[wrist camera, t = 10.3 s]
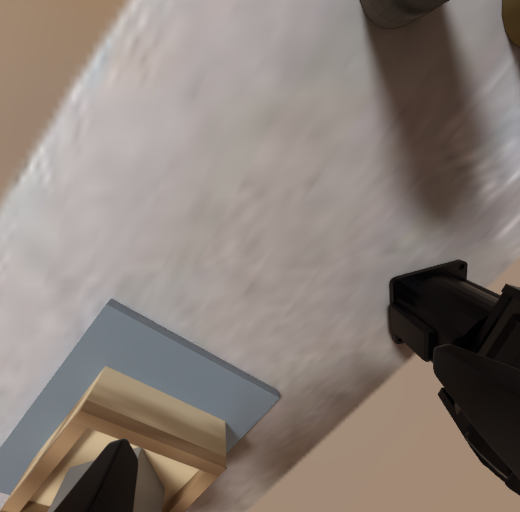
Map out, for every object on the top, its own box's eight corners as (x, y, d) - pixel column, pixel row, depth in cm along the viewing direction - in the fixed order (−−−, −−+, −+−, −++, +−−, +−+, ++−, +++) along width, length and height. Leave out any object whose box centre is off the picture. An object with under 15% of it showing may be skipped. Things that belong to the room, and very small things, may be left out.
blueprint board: (111, 298, 19) (106, 304, 18) (278, 390, 24) (279, 398, 23) (-19, 473, 22) (-28, 484, 21) (152, 522, 27) (150, 532, 26)
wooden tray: (105, 365, 19) (80, 410, 16) (225, 421, 23) (226, 468, 19) (32, 459, 21) (-5, 518, 18) (153, 498, 25) (142, 553, 21)
